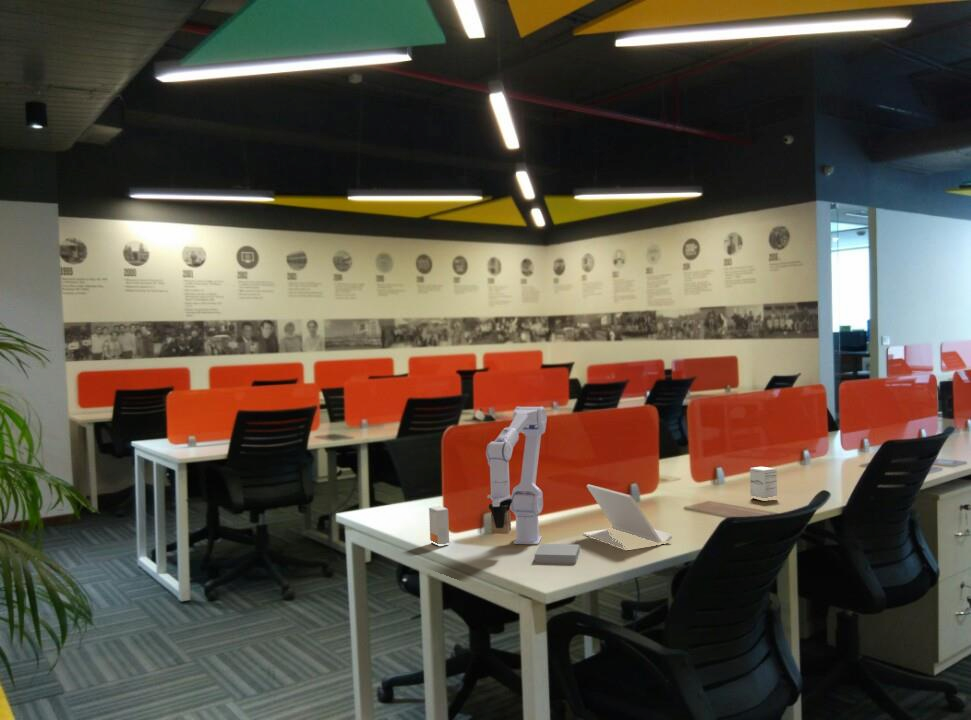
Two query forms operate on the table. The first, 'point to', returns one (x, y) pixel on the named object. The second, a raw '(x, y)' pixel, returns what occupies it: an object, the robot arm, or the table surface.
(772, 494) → the supplement box
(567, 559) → the slate block
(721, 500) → the table surface
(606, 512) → the tablet stand
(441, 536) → the skincare box
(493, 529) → the walnut block
